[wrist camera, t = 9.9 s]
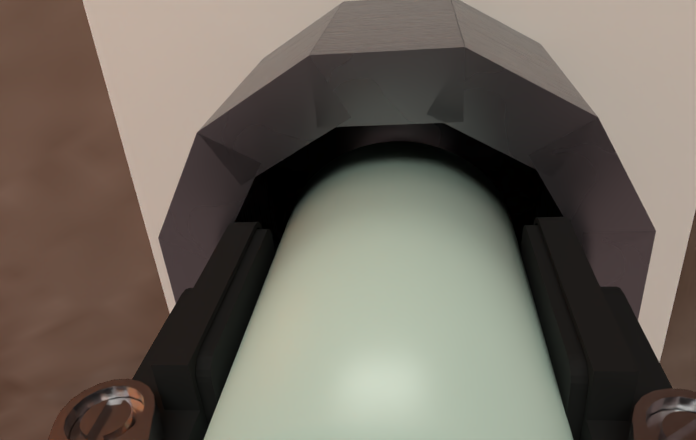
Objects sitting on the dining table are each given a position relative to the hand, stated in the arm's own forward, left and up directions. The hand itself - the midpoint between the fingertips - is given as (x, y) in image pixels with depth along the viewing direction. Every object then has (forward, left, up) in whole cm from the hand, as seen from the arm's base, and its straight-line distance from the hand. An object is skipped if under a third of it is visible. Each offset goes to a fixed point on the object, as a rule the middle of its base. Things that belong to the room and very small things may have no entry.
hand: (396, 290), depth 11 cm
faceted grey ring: (0, 0, -6) cm, 6 cm away
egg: (0, 0, -2) cm, 2 cm away
